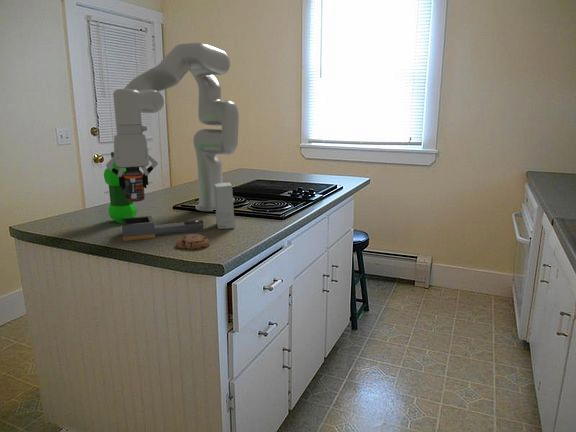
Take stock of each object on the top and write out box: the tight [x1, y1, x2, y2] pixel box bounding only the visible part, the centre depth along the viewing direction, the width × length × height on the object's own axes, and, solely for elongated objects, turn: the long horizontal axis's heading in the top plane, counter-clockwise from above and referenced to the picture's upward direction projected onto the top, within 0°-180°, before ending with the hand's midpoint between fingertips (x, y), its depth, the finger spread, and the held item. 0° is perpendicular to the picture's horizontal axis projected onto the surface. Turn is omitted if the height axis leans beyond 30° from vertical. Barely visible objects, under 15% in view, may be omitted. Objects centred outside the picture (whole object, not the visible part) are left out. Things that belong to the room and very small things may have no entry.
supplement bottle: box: [123, 167, 146, 203], centre depth 146 cm, size 6×6×11 cm
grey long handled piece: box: [121, 215, 204, 242], centre depth 152 cm, size 26×10×5 cm, turn 111°
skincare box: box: [214, 182, 236, 230], centre depth 159 cm, size 8×6×15 cm
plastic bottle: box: [103, 151, 137, 224], centre depth 165 cm, size 10×10×25 cm
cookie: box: [175, 233, 210, 251], centre depth 140 cm, size 10×11×3 cm
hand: (134, 187), depth 146 cm, fingers closed on supplement bottle, 6 cm apart
